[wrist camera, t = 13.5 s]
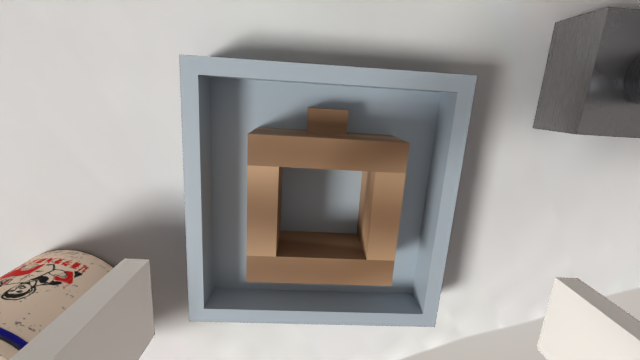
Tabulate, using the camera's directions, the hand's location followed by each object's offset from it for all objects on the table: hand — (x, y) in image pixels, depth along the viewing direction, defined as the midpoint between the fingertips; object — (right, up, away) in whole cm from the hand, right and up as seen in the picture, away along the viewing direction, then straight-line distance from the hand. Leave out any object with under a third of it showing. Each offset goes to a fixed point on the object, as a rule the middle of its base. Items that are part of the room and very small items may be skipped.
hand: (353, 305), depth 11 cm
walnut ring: (-1, +3, +13) cm, 13 cm away
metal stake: (+18, +11, +12) cm, 24 cm away
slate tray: (-1, +3, +13) cm, 14 cm away
